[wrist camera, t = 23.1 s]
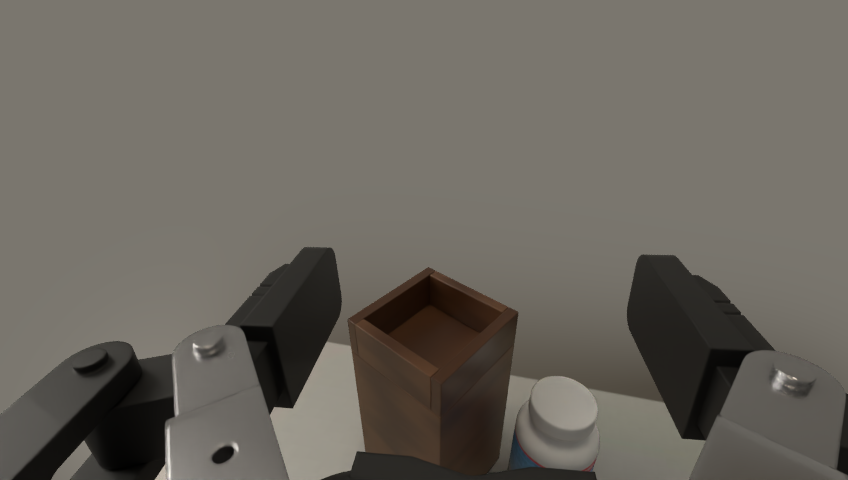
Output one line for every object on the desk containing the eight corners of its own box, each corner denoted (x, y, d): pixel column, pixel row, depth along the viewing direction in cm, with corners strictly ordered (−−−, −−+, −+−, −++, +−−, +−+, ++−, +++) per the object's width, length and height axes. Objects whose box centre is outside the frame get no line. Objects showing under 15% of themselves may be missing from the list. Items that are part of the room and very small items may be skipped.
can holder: (499, 457, 38) (519, 311, 29) (439, 534, 33) (441, 384, 24) (429, 405, 43) (428, 266, 34) (366, 465, 38) (346, 319, 29)
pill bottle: (544, 546, 32) (568, 458, 26) (491, 479, 36) (502, 390, 31) (596, 501, 35) (629, 411, 29) (541, 443, 39) (560, 356, 33)
